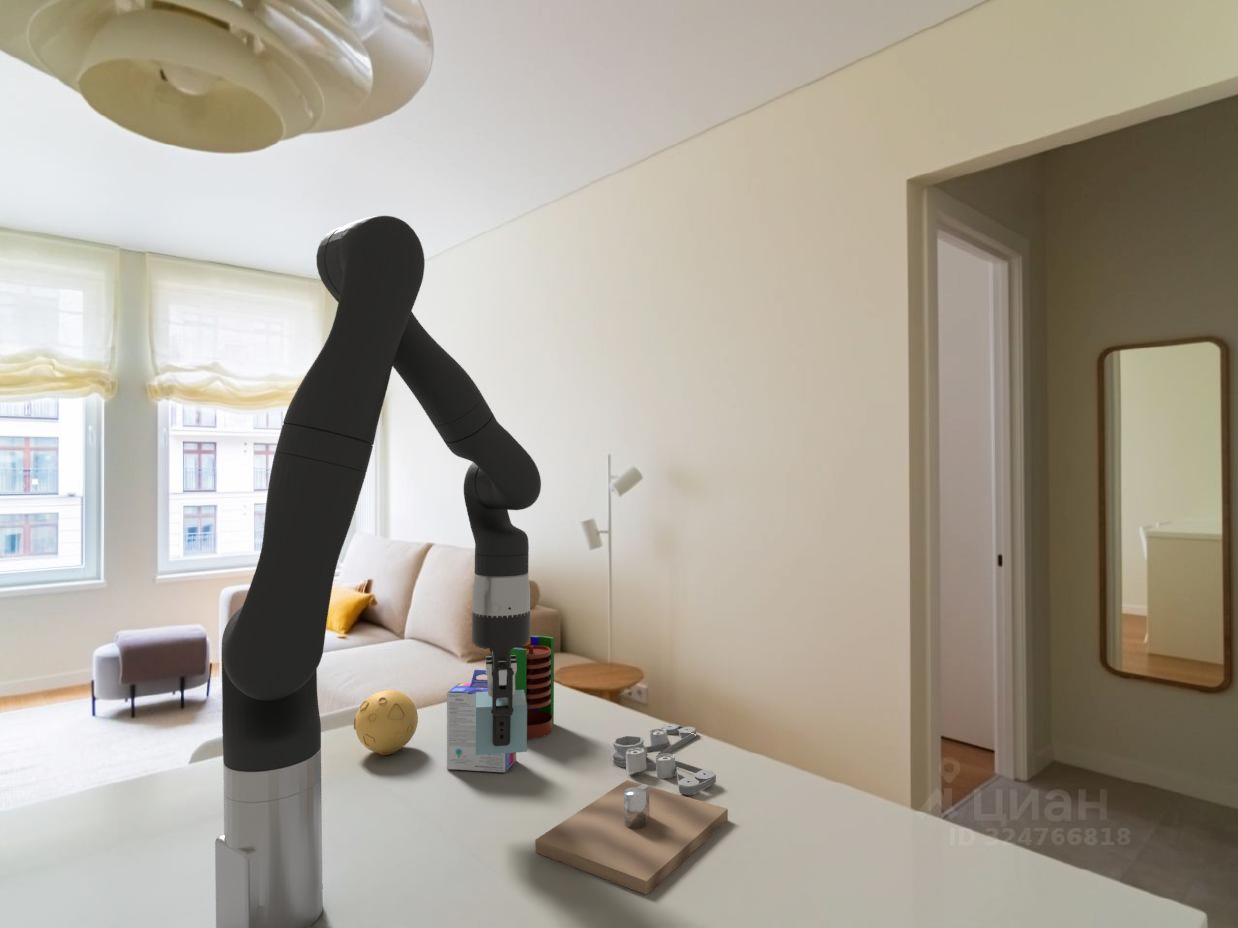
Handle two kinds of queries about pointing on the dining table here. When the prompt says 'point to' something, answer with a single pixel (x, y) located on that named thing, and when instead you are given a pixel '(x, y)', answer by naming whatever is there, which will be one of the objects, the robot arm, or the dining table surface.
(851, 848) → the dining table surface
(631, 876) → the mounting plate
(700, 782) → the pulley system
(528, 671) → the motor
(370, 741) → the stress ball
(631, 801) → the shaft
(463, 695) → the ink cartridge box
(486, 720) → the mini blue cabinet
